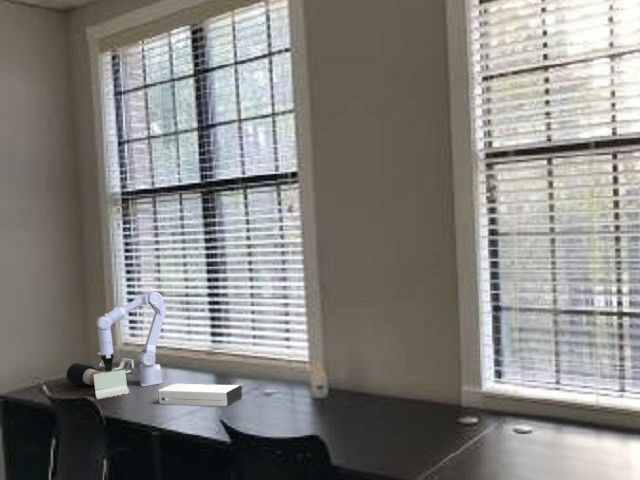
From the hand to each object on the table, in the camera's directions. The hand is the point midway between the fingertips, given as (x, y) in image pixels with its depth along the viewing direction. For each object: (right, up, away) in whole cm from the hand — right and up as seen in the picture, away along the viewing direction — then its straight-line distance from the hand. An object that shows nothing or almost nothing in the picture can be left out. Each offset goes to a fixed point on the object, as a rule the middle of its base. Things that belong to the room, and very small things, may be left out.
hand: (108, 371), depth 326 cm
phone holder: (-7, -9, +36) cm, 38 cm away
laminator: (+48, -7, -33) cm, 59 cm away
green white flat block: (+4, -9, -7) cm, 13 cm away
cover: (+2, -3, -4) cm, 6 cm away
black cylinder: (-8, -10, +12) cm, 18 cm away
